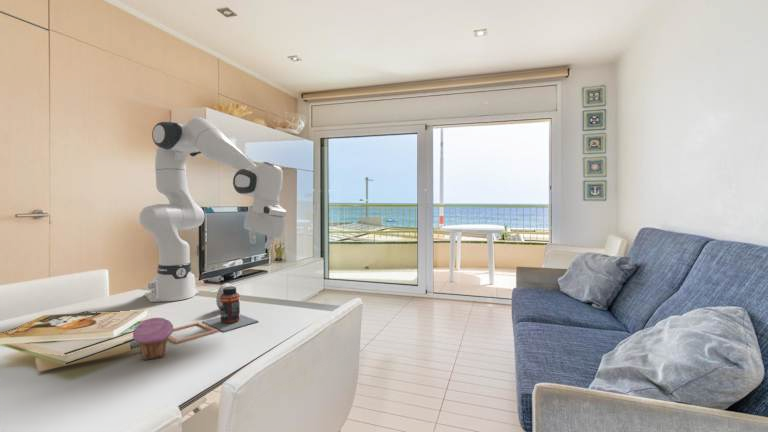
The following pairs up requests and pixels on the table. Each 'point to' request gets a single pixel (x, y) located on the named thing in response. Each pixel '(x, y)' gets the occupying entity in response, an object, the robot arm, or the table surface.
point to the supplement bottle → (229, 305)
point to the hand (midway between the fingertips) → (259, 245)
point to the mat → (226, 327)
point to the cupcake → (153, 337)
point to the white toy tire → (221, 293)
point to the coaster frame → (194, 335)
